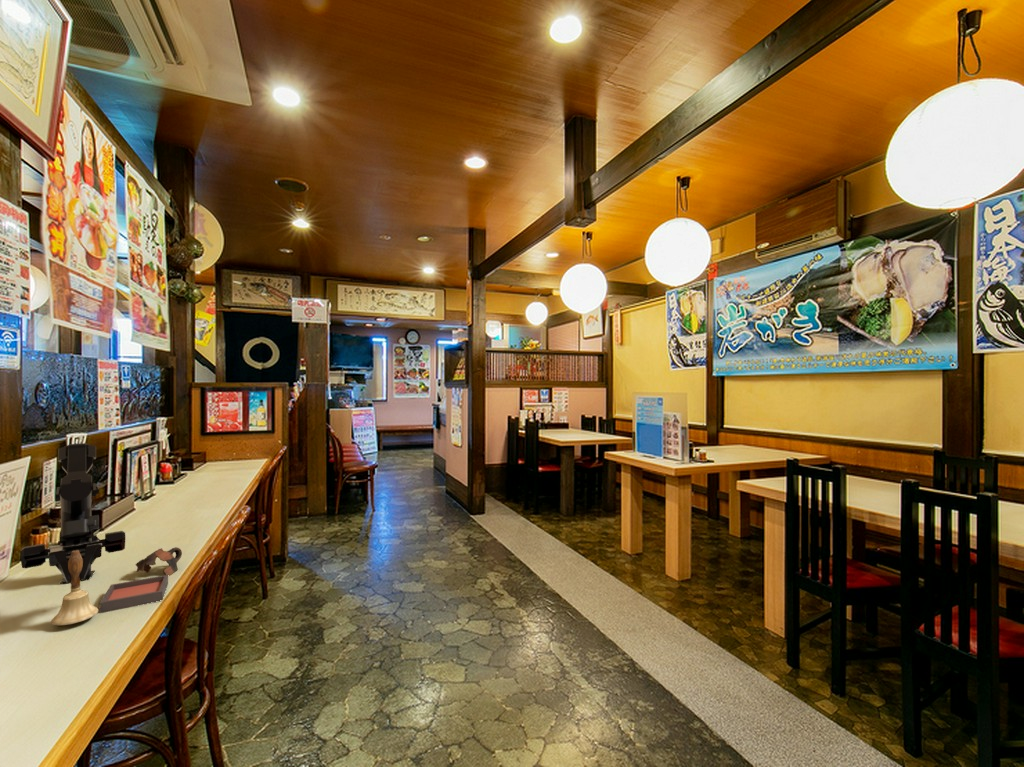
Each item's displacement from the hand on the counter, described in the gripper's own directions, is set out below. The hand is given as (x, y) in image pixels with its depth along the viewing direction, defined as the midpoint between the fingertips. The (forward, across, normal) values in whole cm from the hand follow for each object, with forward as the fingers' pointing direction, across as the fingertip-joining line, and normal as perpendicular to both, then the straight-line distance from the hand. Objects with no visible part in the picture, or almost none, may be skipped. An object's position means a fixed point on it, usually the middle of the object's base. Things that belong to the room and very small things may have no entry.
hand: (75, 580), depth 111 cm
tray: (+2, +12, +13) cm, 18 cm away
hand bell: (+6, 0, +8) cm, 9 cm away
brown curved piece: (-10, +19, +25) cm, 33 cm away
